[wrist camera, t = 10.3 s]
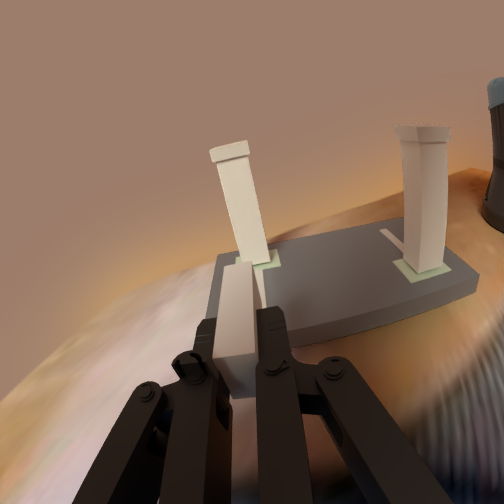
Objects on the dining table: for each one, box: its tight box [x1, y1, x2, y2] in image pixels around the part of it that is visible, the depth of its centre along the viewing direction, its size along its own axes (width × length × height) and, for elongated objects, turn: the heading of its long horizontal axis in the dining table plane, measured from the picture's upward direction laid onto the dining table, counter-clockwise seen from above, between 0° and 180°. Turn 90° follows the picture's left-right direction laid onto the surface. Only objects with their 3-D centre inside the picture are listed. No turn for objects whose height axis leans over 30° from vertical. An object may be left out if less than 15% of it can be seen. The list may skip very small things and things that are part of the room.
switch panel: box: [205, 217, 479, 348], centre depth 27 cm, size 26×16×2 cm, turn 92°
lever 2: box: [394, 124, 451, 273], centre depth 20 cm, size 4×4×13 cm
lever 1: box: [209, 140, 270, 265], centre depth 28 cm, size 4×4×13 cm
